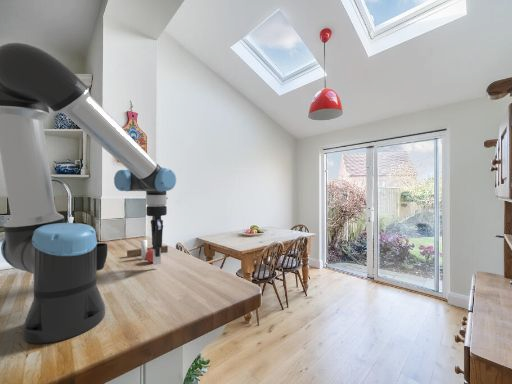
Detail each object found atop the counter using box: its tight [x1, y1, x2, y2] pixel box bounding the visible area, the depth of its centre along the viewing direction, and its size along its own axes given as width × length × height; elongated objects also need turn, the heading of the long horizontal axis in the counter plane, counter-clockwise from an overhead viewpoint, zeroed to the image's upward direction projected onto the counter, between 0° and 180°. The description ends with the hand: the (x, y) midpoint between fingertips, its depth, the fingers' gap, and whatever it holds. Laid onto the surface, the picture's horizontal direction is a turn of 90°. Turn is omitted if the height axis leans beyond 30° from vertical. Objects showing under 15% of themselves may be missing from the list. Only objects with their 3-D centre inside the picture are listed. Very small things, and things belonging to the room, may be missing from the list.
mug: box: [96, 242, 108, 272], centre depth 96 cm, size 8×12×10 cm
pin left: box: [140, 239, 148, 261], centre depth 108 cm, size 2×2×8 cm
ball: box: [145, 249, 153, 264], centre depth 103 cm, size 6×6×6 cm
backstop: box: [126, 245, 169, 259], centre depth 116 cm, size 2×18×3 cm, turn 122°
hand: (156, 263), depth 95 cm, fingers closed
